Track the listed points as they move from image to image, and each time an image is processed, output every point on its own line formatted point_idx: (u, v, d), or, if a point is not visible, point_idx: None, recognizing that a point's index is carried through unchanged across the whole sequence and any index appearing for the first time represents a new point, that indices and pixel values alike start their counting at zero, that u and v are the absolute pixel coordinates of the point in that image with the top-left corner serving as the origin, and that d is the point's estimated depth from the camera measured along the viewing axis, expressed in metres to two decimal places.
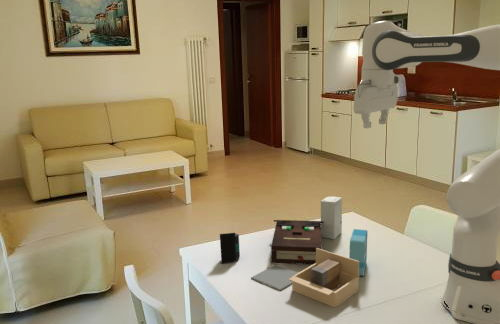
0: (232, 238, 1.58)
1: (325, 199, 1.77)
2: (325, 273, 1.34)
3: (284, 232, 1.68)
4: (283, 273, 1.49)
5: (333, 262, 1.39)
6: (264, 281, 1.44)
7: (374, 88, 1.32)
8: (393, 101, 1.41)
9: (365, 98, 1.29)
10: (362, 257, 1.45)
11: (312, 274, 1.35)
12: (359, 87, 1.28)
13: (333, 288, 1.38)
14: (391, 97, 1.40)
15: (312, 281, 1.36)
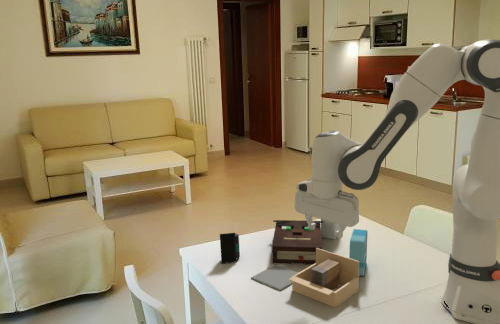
0: (232, 238, 1.58)
1: None
2: (325, 273, 1.34)
3: (284, 232, 1.68)
4: (283, 273, 1.49)
5: (333, 262, 1.39)
6: (264, 281, 1.44)
7: None
8: None
9: None
10: (362, 257, 1.45)
11: (312, 274, 1.35)
12: None
13: (333, 288, 1.38)
14: None
15: (312, 281, 1.36)
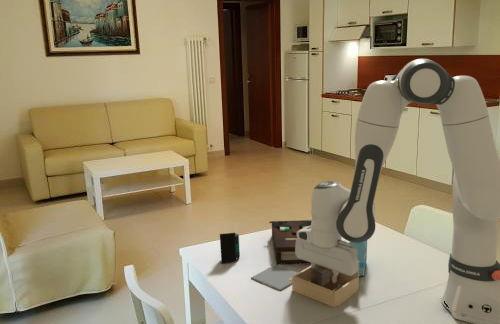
0: (232, 238, 1.58)
1: None
2: (325, 273, 1.34)
3: (284, 233, 1.67)
4: (283, 273, 1.49)
5: None
6: (264, 281, 1.44)
7: None
8: None
9: None
10: (362, 257, 1.45)
11: (312, 274, 1.35)
12: (356, 250, 1.29)
13: (333, 288, 1.38)
14: None
15: (312, 281, 1.36)
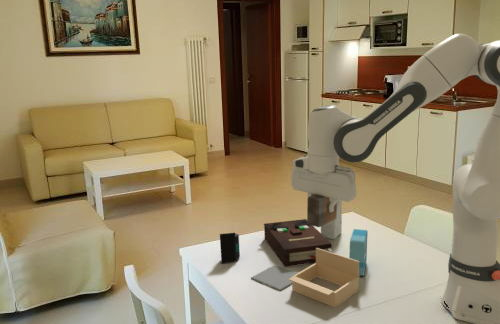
0: (232, 238, 1.58)
1: None
2: (322, 201, 1.29)
3: (284, 234, 1.66)
4: (283, 273, 1.49)
5: None
6: (264, 281, 1.44)
7: None
8: None
9: None
10: (362, 257, 1.45)
11: (309, 202, 1.31)
12: None
13: (330, 219, 1.34)
14: None
15: (308, 210, 1.31)
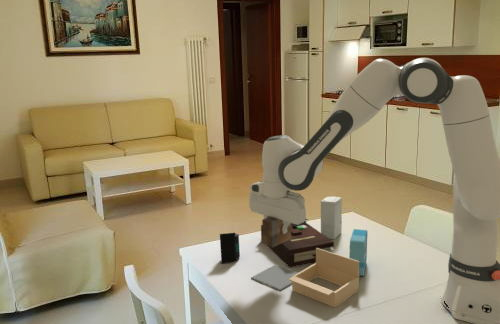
0: (232, 238, 1.58)
1: (325, 199, 1.77)
2: (275, 223, 1.39)
3: None
4: (283, 273, 1.49)
5: None
6: (264, 281, 1.44)
7: None
8: None
9: None
10: (362, 257, 1.45)
11: (263, 224, 1.41)
12: (304, 200, 1.34)
13: (284, 239, 1.44)
14: None
15: (263, 231, 1.41)
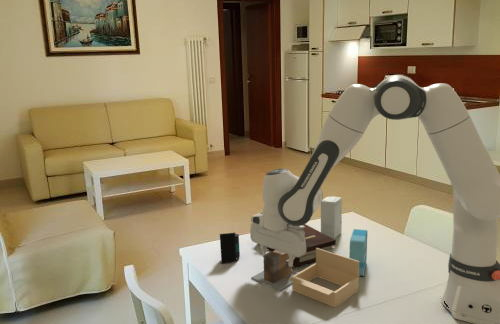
0: (232, 238, 1.58)
1: (325, 199, 1.77)
2: (276, 259, 1.42)
3: None
4: None
5: None
6: (264, 281, 1.44)
7: None
8: None
9: None
10: (362, 257, 1.45)
11: (265, 260, 1.44)
12: (304, 233, 1.37)
13: (285, 274, 1.47)
14: None
15: (265, 267, 1.44)
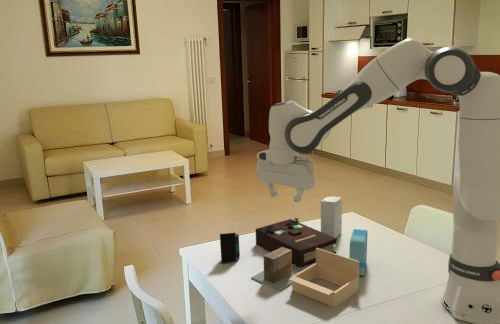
0: (232, 238, 1.58)
1: (325, 199, 1.77)
2: (276, 259, 1.42)
3: (285, 236, 1.64)
4: None
5: (286, 250, 1.48)
6: (264, 281, 1.44)
7: None
8: None
9: None
10: (362, 257, 1.45)
11: (265, 260, 1.44)
12: None
13: (285, 274, 1.47)
14: None
15: (265, 267, 1.44)
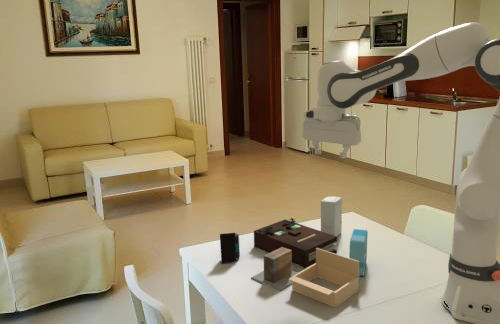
0: (232, 238, 1.58)
1: (325, 199, 1.77)
2: (276, 259, 1.42)
3: (286, 237, 1.63)
4: None
5: (286, 250, 1.48)
6: (264, 281, 1.44)
7: None
8: None
9: None
10: (362, 257, 1.45)
11: (265, 260, 1.44)
12: None
13: (285, 274, 1.47)
14: None
15: (265, 267, 1.44)
